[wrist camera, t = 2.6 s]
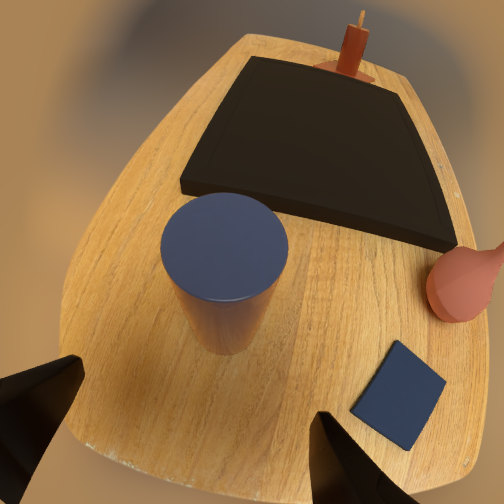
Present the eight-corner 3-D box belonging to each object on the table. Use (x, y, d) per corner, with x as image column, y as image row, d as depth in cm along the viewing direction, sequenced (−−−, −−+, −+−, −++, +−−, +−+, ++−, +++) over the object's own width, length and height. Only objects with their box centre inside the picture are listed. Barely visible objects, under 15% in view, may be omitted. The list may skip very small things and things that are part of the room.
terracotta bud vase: (469, 317, 24) (541, 270, 14) (432, 343, 22) (520, 297, 12) (443, 261, 28) (505, 202, 17) (404, 278, 26) (475, 210, 16)
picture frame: (181, 194, 29) (447, 254, 28) (179, 178, 27) (458, 244, 26) (250, 65, 49) (394, 101, 49) (251, 55, 47) (397, 93, 47)
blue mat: (405, 450, 17) (409, 451, 16) (349, 411, 19) (352, 411, 18) (443, 382, 20) (446, 381, 20) (394, 340, 22) (397, 339, 22)
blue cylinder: (226, 368, 20) (225, 331, 9) (180, 325, 22) (135, 240, 11) (269, 323, 23) (313, 240, 11) (224, 284, 24) (224, 175, 13)
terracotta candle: (351, 77, 51) (370, 13, 35) (332, 68, 52) (348, 5, 37) (359, 74, 53) (377, 15, 38) (341, 66, 54) (357, 7, 39)
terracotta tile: (357, 88, 49) (358, 86, 48) (312, 67, 52) (313, 65, 52) (374, 80, 54) (375, 79, 54) (335, 61, 57) (335, 60, 57)
